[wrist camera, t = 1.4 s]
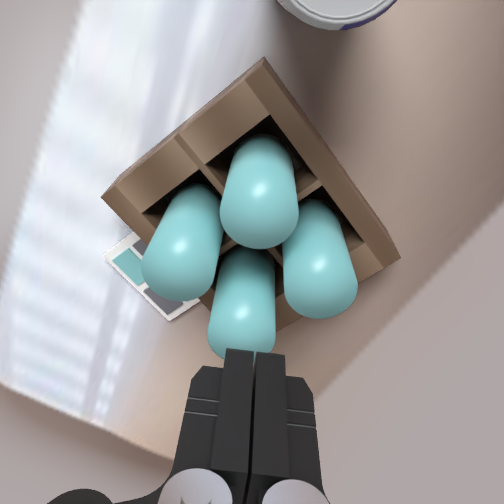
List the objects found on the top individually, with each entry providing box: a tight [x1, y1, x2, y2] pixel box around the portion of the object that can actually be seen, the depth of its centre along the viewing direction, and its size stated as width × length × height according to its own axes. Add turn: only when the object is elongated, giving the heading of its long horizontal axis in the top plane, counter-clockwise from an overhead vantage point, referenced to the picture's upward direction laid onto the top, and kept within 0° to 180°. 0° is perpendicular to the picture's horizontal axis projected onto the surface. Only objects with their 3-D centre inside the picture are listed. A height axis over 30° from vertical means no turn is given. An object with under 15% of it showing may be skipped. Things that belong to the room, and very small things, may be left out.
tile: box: [103, 231, 200, 321], centre depth 35 cm, size 4×7×1 cm, turn 38°
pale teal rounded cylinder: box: [141, 184, 224, 301], centre depth 27 cm, size 4×4×8 cm
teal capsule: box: [220, 134, 299, 249], centre depth 25 cm, size 4×4×8 cm
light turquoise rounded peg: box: [207, 244, 276, 361], centre depth 28 cm, size 4×4×8 cm
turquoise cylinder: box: [282, 199, 358, 319], centre depth 27 cm, size 4×4×8 cm
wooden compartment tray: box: [101, 57, 401, 332], centre depth 31 cm, size 12×14×4 cm
